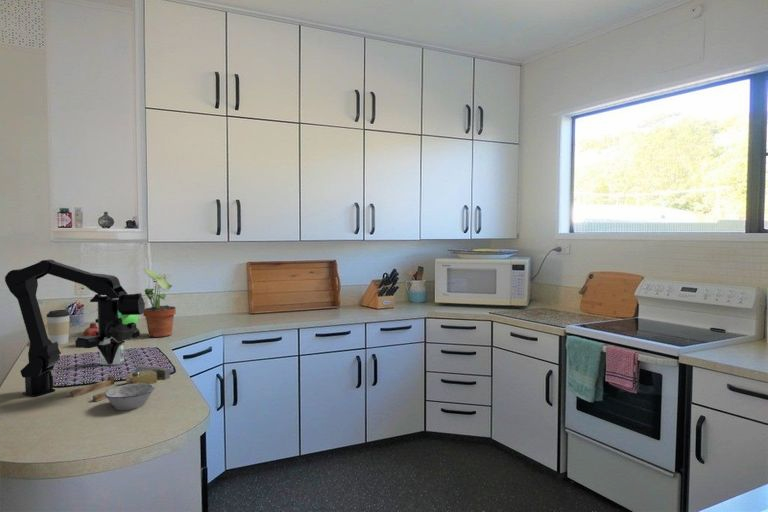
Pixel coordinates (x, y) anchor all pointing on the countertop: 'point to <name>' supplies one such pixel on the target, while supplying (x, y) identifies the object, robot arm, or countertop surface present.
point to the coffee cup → (58, 326)
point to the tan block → (142, 377)
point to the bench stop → (161, 372)
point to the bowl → (129, 395)
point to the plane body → (96, 386)
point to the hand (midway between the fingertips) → (110, 363)
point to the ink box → (117, 359)
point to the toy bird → (127, 318)
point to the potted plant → (158, 309)
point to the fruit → (91, 330)
